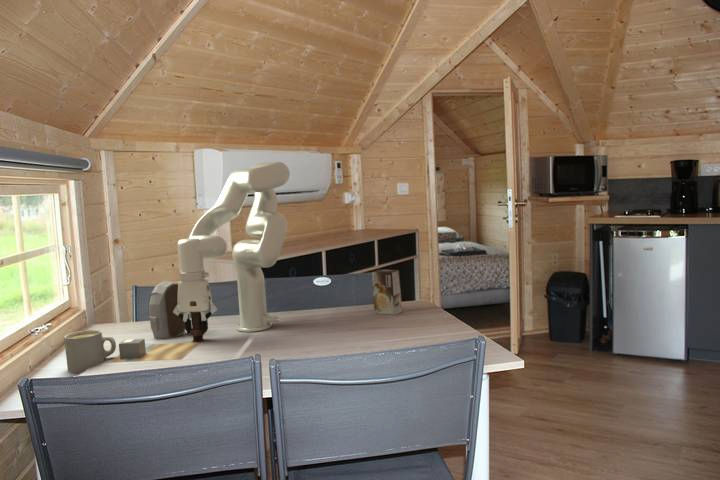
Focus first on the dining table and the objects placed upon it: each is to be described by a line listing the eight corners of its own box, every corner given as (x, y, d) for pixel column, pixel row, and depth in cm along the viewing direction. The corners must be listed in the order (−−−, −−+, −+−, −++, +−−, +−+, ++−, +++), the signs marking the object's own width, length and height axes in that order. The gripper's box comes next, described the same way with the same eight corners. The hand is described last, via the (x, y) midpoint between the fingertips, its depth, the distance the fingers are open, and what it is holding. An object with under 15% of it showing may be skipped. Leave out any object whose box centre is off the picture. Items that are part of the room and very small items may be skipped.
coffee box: (402, 311, 222) (400, 269, 220) (394, 315, 216) (392, 272, 215) (381, 310, 226) (379, 268, 225) (373, 313, 221) (371, 271, 219)
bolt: (192, 343, 193) (188, 298, 191) (207, 342, 193) (204, 297, 192) (188, 348, 187) (185, 302, 185) (204, 347, 187) (201, 301, 186)
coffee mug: (65, 374, 167) (61, 340, 166) (70, 364, 176) (67, 332, 175) (115, 367, 170) (112, 334, 170) (118, 358, 180) (115, 326, 179)
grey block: (145, 353, 178) (144, 338, 178) (140, 357, 174) (138, 342, 173) (126, 354, 179) (125, 339, 178) (120, 358, 174) (118, 343, 174)
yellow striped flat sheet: (201, 346, 188) (200, 342, 188) (182, 364, 170) (181, 359, 170) (133, 349, 189) (133, 345, 189) (107, 367, 171) (107, 362, 171)
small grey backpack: (165, 344, 193) (159, 284, 191) (143, 343, 196) (138, 284, 194) (191, 332, 208) (186, 276, 206) (170, 332, 210) (165, 277, 208)
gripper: (221, 273, 191) (225, 328, 193) (170, 276, 192) (175, 330, 194) (215, 277, 184) (219, 334, 185) (162, 280, 184) (167, 336, 186)
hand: (197, 332), depth 190 cm, fingers closed on bolt, 4 cm apart
